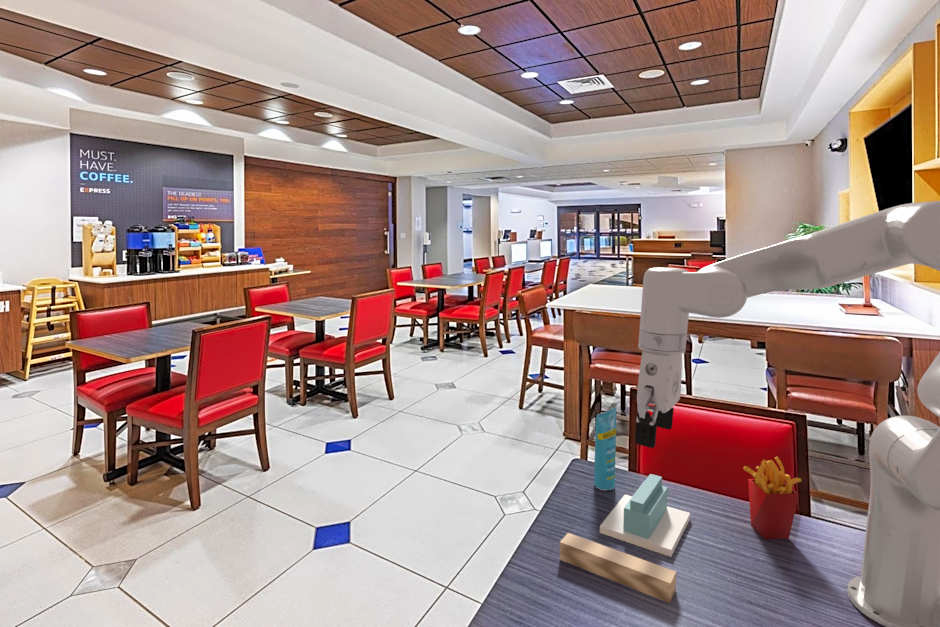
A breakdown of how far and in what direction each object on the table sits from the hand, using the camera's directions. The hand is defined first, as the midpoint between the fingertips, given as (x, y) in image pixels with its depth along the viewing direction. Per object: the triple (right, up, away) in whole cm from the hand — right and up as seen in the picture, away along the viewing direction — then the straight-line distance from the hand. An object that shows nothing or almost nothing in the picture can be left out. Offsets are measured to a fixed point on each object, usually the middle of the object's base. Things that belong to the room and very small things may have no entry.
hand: (654, 436), depth 88 cm
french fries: (+28, -23, +15) cm, 39 cm away
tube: (0, -20, +33) cm, 39 cm away
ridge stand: (+4, -23, +17) cm, 29 cm away
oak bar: (-6, -26, +2) cm, 27 cm away
